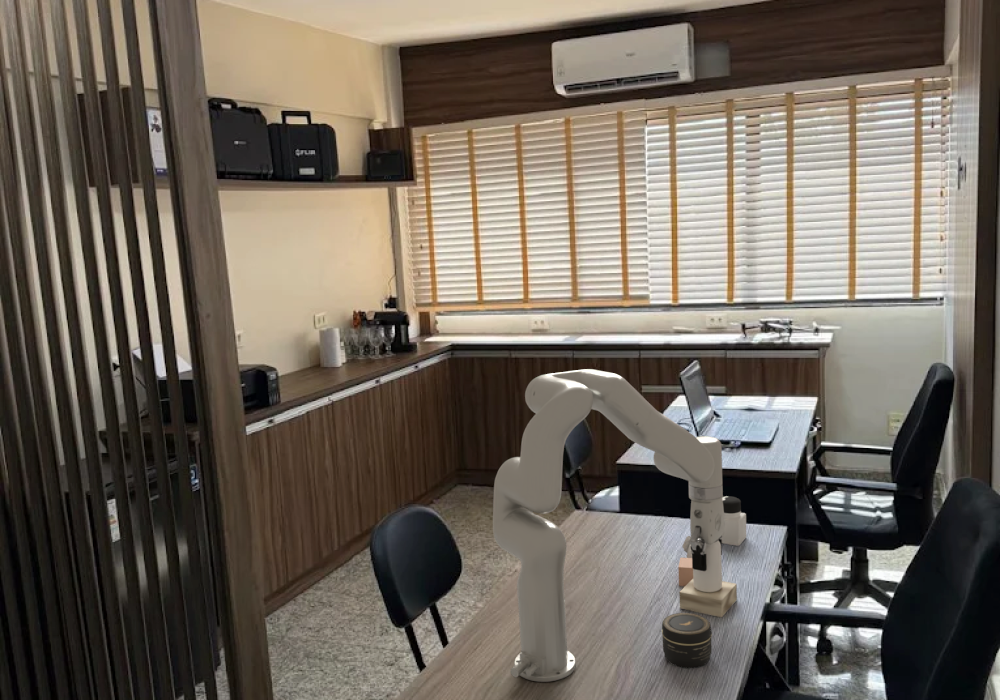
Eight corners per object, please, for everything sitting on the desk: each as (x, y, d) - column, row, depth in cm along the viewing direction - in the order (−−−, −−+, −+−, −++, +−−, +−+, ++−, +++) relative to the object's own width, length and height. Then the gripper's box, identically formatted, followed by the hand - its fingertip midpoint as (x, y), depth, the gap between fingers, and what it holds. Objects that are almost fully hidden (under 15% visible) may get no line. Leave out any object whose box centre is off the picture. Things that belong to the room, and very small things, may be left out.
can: (688, 584, 200) (686, 535, 198) (712, 579, 201) (711, 531, 200) (702, 595, 194) (700, 545, 192) (727, 590, 195) (726, 540, 194)
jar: (721, 656, 175) (721, 621, 173) (694, 675, 168) (693, 639, 167) (681, 640, 182) (680, 607, 181) (652, 659, 175) (651, 624, 174)
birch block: (721, 617, 191) (721, 600, 190) (679, 608, 197) (679, 591, 196) (736, 599, 199) (736, 583, 198) (696, 591, 205) (695, 575, 204)
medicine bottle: (746, 537, 236) (746, 496, 235) (739, 546, 231) (738, 504, 229) (721, 533, 240) (720, 493, 238) (713, 542, 234) (712, 500, 233)
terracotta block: (704, 587, 207) (703, 568, 206) (679, 586, 209) (678, 567, 208) (705, 577, 213) (704, 558, 212) (681, 576, 214) (680, 557, 214)
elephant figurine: (723, 561, 221) (723, 535, 220) (704, 573, 215) (704, 547, 213) (697, 554, 227) (697, 529, 226) (678, 566, 220) (677, 540, 219)
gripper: (707, 504, 185) (709, 579, 187) (734, 482, 199) (736, 551, 201) (675, 500, 189) (677, 572, 191) (703, 478, 203) (705, 546, 205)
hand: (707, 562), depth 196 cm, fingers open, 9 cm apart
